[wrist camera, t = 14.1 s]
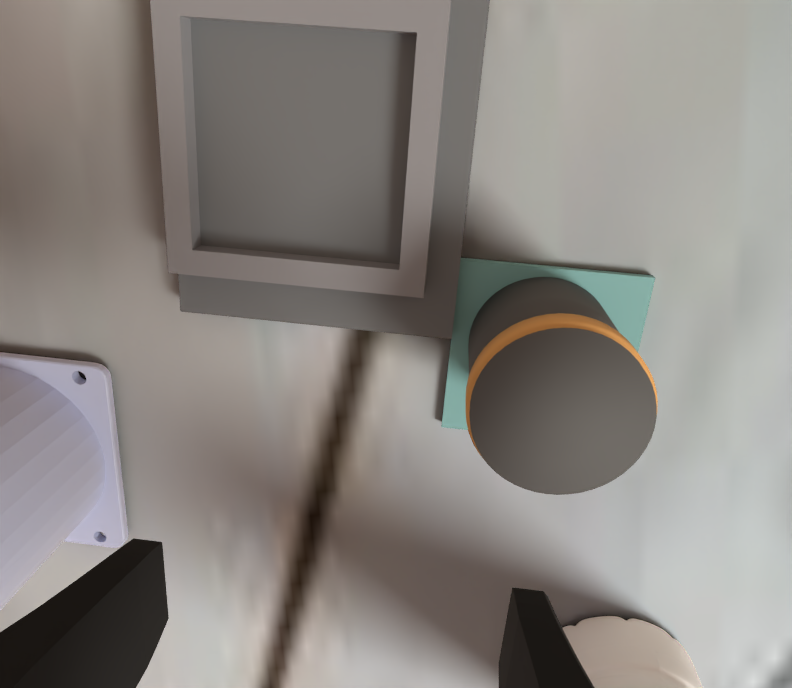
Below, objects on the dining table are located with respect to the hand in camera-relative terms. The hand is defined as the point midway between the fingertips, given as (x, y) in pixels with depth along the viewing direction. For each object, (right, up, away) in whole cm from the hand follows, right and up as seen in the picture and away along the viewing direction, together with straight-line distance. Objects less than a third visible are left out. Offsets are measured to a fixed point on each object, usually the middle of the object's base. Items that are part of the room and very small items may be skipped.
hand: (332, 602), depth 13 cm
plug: (+6, +5, +8) cm, 11 cm away
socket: (-1, +13, +6) cm, 14 cm away
